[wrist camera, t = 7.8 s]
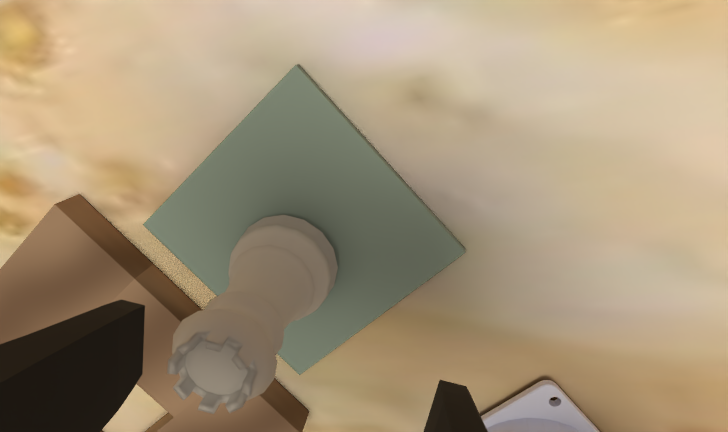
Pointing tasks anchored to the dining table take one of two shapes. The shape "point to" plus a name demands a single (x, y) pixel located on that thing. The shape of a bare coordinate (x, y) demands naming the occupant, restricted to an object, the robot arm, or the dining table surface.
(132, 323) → the robot arm
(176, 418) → the socket board
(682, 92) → the dining table surface
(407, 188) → the rubber mat
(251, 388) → the rook chess piece
